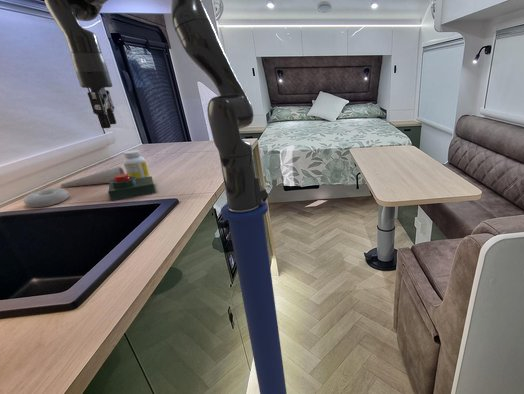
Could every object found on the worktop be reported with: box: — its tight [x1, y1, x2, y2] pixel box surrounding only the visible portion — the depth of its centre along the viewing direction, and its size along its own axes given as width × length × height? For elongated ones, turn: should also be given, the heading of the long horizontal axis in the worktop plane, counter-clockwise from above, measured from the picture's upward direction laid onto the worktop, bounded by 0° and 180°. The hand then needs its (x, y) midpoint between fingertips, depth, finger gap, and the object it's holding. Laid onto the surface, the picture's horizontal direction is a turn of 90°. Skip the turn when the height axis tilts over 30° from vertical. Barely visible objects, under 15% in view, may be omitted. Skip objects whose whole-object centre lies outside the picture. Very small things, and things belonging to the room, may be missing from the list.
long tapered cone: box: [60, 165, 126, 188], centre depth 104 cm, size 6×6×19 cm
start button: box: [114, 173, 130, 182], centre depth 96 cm, size 4×4×2 cm
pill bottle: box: [122, 149, 150, 179], centre depth 106 cm, size 6×6×12 cm
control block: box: [107, 175, 156, 202], centre depth 98 cm, size 12×10×5 cm
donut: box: [23, 187, 69, 208], centre depth 90 cm, size 10×3×10 cm
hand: (109, 126), depth 92 cm, fingers open, 8 cm apart
